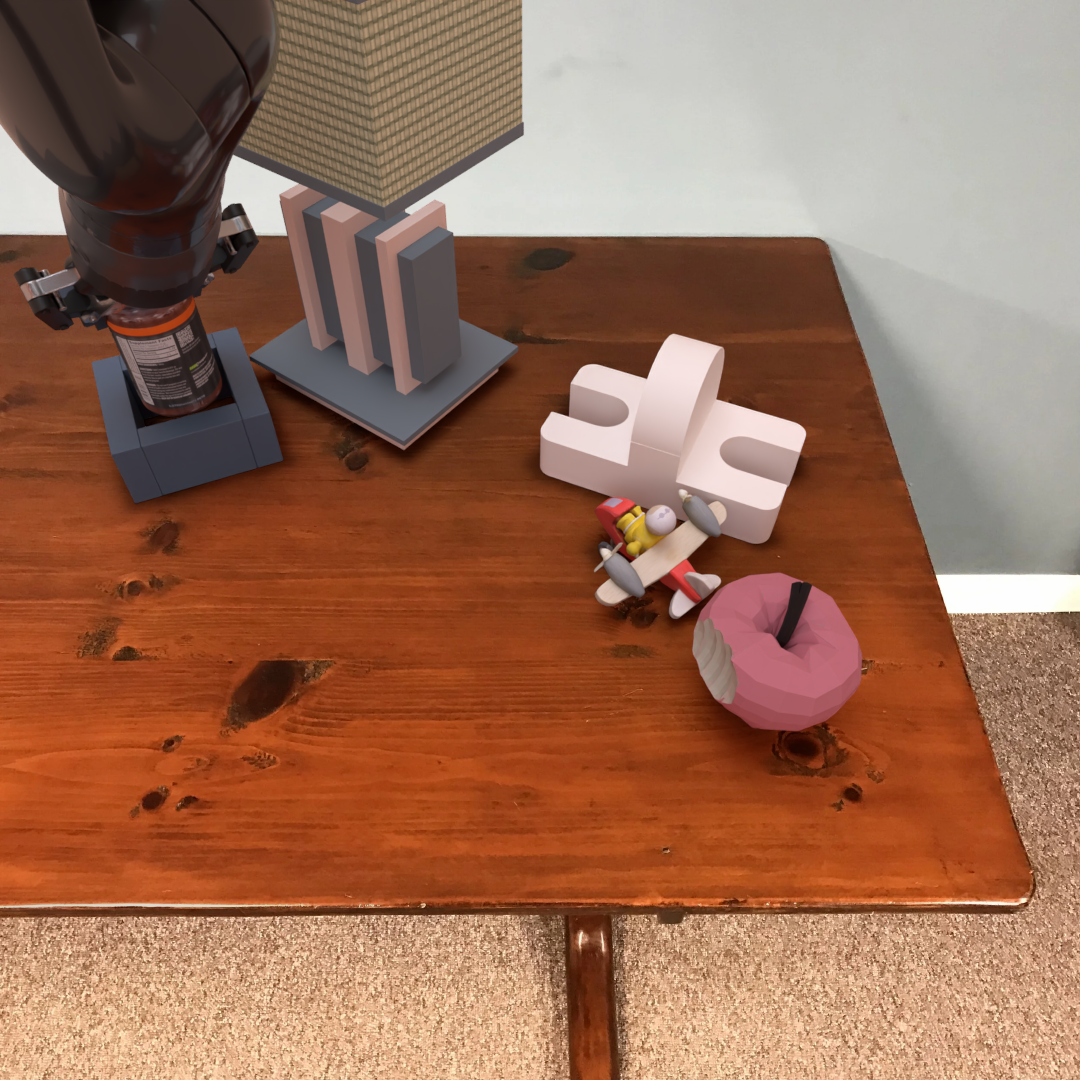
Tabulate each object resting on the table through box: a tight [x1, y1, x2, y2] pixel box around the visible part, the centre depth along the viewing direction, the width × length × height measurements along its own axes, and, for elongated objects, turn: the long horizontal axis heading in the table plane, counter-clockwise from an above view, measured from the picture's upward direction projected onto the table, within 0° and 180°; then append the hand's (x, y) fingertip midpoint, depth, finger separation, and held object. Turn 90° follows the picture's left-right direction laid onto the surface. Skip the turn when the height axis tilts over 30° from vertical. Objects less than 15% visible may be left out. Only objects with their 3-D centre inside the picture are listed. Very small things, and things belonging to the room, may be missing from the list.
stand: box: [91, 326, 284, 504], centre depth 68 cm, size 11×11×5 cm
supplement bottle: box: [106, 295, 222, 418], centre depth 62 cm, size 6×6×11 cm
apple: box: [692, 572, 863, 732], centre depth 52 cm, size 10×9×10 cm
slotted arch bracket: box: [539, 333, 807, 545], centre depth 65 cm, size 10×18×11 cm, turn 66°
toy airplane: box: [593, 489, 727, 620], centre depth 59 cm, size 9×9×6 cm
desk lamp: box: [233, 0, 525, 451], centre depth 63 cm, size 18×14×33 cm
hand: (142, 299), depth 62 cm, fingers closed on supplement bottle, 6 cm apart
